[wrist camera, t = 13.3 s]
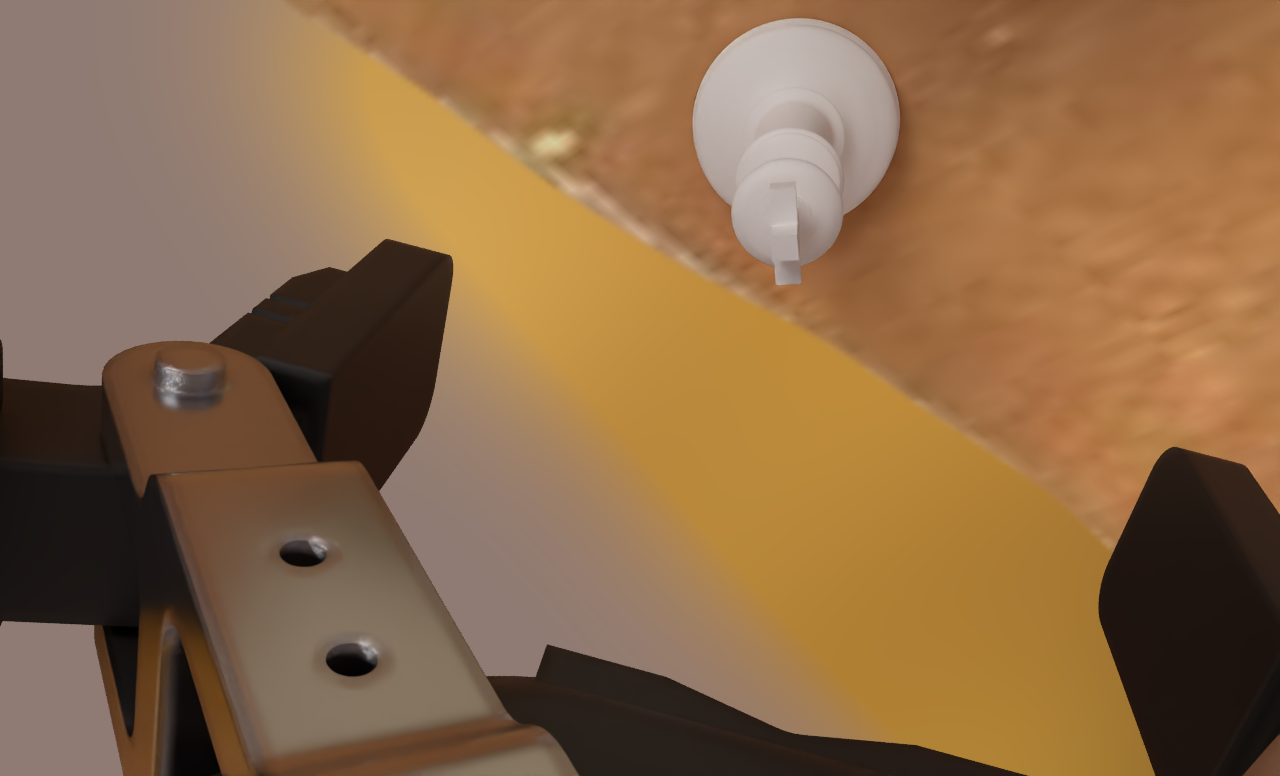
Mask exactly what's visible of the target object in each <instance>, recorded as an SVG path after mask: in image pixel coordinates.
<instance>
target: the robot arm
mask: <svg viewBox="0 0 1280 776" xmlns="http://www.w3.org/2000/svg"><path fill="white" fill-rule="evenodd" d="M452 277H453V260H452V257H451V256H450V255H447V254H443V253H439V252H436V251H431V250H428V249H424V248H420V247H417V246H413V245H408V244H405V243H401V242H397V241H393V240H390V239H385V240H384V241H382V242H381V243H380V244H379V245H378V246H377V247H375V248H374V249H373V250H372V251H371V252H370V253H369V254H367V255H366V256H365V257H364V258H363V259H362V260H361V261H359V262H358V263H357V264H356V265H355V266H354V267H352V269H350V270H349V271H348V272H346V271H342V270H338V269H335V268H330V267H328V268H325V269H321V270H317V271H314V272H311V273H307V274H303V275H299V276H296V277H292V278H291V279H290V280H289V281H287V282H286V283H285V284H284V285H282V286H281V287H280V288H278V289H277V290H276V291H275V292H273V293H272V294H271V295H270V299H267V298H266V299H265V300H263V301H262V302H261V303H260V304H259V305H257V306H256V307H254V308H253V310H252V313H247V314H246V315H244V316H243V317H242V318H241V319H239V320H238V321H237V322H236V323H234V324H233V325H232V326H230V327H229V328H228V329H227V330H225V331H224V332H223V333H222V334H220V335H219V336H218V337H217V338H215V339H214V340H213V341H212V342H210V343H203V342H192V341H167V342H157V343H150V344H145V345H140V346H136V347H133V348H130V349H127V350H124V351H123V352H121V353H119V354H117V355H115V356H114V357H113V358H111V359H110V360H109V361H108V362H107V363H106V365H105V366H104V369H103V372H102V386H85V385H71V384H60V383H49V382H39V381H29V380H18V379H8V378H3V347H2V342H1V340H0V625H1V623H2V621H15V622H37V623H60V624H82V625H94V638H95V646H96V650H97V655H98V659H99V664H100V669H101V673H102V678H103V683H104V687H105V692H106V696H107V701H108V706H109V710H110V715H111V719H112V724H113V729H114V733H115V738H116V742H117V747H118V752H119V757H120V761H121V766H122V770H123V775H124V776H1027V775H1023V774H1019V773H1015V772H1012V771H1008V770H1004V769H1001V768H997V767H993V766H990V765H986V764H983V763H979V762H975V761H972V760H968V759H964V758H961V757H957V756H954V755H950V754H946V753H943V752H939V751H935V750H931V749H928V748H924V747H921V746H917V745H907V744H897V743H886V742H875V741H864V740H853V739H841V738H830V737H819V736H808V735H799V734H794V733H790V732H786V731H783V730H781V729H778V728H776V727H774V726H772V725H769V724H767V723H765V722H763V721H761V720H758V719H756V718H754V717H751V716H750V715H748V714H745V713H743V712H741V711H739V710H736V709H735V708H733V707H730V706H728V705H726V704H724V703H722V702H719V701H717V700H715V699H713V698H711V697H708V696H706V695H704V694H702V693H700V692H698V691H695V690H693V689H691V688H689V687H687V686H685V685H682V684H680V683H678V682H676V681H674V680H672V679H670V678H667V677H664V676H661V675H657V674H653V673H650V672H645V671H642V670H639V669H635V668H631V667H627V666H624V665H620V664H617V663H613V662H610V661H605V660H602V659H598V658H595V657H591V656H587V655H583V654H580V653H577V652H573V651H569V650H566V649H562V648H558V647H554V646H551V645H547V646H546V649H545V652H544V655H543V658H542V661H541V663H540V666H539V669H538V672H537V675H536V677H521V676H520V677H519V676H486V675H485V674H484V672H483V670H482V669H481V667H480V665H479V663H478V662H477V660H476V658H475V656H474V655H473V653H472V651H471V650H470V648H469V646H468V644H467V643H466V641H465V639H464V637H463V636H462V634H461V632H460V630H459V629H458V627H457V626H456V624H455V622H454V620H453V619H452V617H451V615H450V613H449V611H448V610H447V608H446V606H445V605H444V603H443V601H442V599H441V598H440V596H439V594H438V593H437V591H436V589H435V587H434V586H433V584H432V582H431V580H430V579H429V577H428V575H427V574H426V572H425V570H424V568H423V567H422V565H421V563H420V561H419V560H418V558H417V556H416V555H415V553H414V551H413V550H412V548H411V546H410V544H409V542H408V541H407V539H406V537H405V536H404V534H403V532H402V530H401V529H400V527H399V525H398V523H397V522H396V520H395V518H394V517H393V515H392V513H391V512H390V510H389V508H388V506H387V505H386V503H385V501H384V499H383V498H382V496H381V494H380V492H379V490H380V489H381V488H382V486H383V485H384V484H385V482H386V481H387V479H388V478H389V476H390V475H391V474H392V472H393V471H394V469H395V468H396V466H397V465H398V464H399V462H400V461H401V459H402V458H403V456H404V455H405V453H406V452H407V451H408V449H409V448H410V446H411V445H412V444H413V442H414V441H415V439H416V438H417V436H418V435H419V432H420V431H421V428H422V426H423V424H424V421H425V419H426V416H427V413H428V411H429V407H430V404H431V400H432V396H433V392H434V388H435V382H436V376H437V370H438V363H439V358H440V352H441V346H442V340H443V333H444V328H445V321H446V315H447V309H448V302H449V297H450V291H451V284H452ZM1099 618H1100V622H1101V625H1102V628H1103V631H1104V634H1105V637H1106V639H1107V642H1108V645H1109V648H1110V650H1111V653H1112V656H1113V659H1114V661H1115V664H1116V667H1117V670H1118V672H1119V675H1120V678H1121V681H1122V684H1123V686H1124V689H1125V692H1126V695H1127V698H1128V700H1129V703H1130V706H1131V709H1132V712H1133V714H1134V717H1135V720H1136V722H1137V726H1138V728H1139V731H1140V734H1141V737H1142V739H1143V742H1144V745H1145V748H1146V750H1147V753H1148V756H1149V759H1150V762H1151V764H1152V767H1153V770H1154V773H1155V776H1280V514H1279V513H1278V511H1277V510H1276V509H1275V507H1274V506H1273V504H1272V503H1271V501H1270V500H1269V498H1268V497H1267V495H1266V494H1265V493H1264V491H1263V490H1262V488H1261V487H1260V485H1259V484H1258V482H1257V481H1256V480H1255V478H1254V477H1253V475H1252V474H1251V472H1250V471H1249V469H1248V468H1247V467H1246V466H1244V465H1242V464H1239V463H1235V462H1232V461H1228V460H1224V459H1220V458H1216V457H1213V456H1209V455H1205V454H1201V453H1197V452H1193V451H1190V450H1186V449H1182V448H1178V447H1172V448H1169V449H1168V450H1166V451H1165V452H1164V453H1163V454H1162V455H1161V456H1160V457H1159V459H1158V460H1157V462H1156V463H1155V465H1154V467H1153V469H1152V471H1151V473H1150V475H1149V477H1148V479H1147V481H1146V484H1145V486H1144V488H1143V490H1142V492H1141V494H1140V496H1139V498H1138V501H1137V503H1136V505H1135V507H1134V509H1133V511H1132V513H1131V516H1130V518H1129V520H1128V522H1127V524H1126V526H1125V528H1124V531H1123V533H1122V535H1121V537H1120V539H1119V541H1118V543H1117V545H1116V548H1115V550H1114V552H1113V554H1112V556H1111V558H1110V560H1109V563H1108V565H1107V567H1106V570H1105V573H1104V576H1103V579H1102V583H1101V588H1100V594H1099Z"/></svg>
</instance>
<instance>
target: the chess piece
mask: <svg viewBox="0 0 1280 776" xmlns="http://www.w3.org/2000/svg"><path fill="white" fill-rule="evenodd" d="M899 129H900V109H899V101H898V96H897V92H896V89H895V86H894V83H893V81H892V78H891V76H890V74H889V72H888V70H887V68H886V67H885V65H884V63H883V62H882V60H881V59H880V58H879V56H878V55H877V54H876V53H875V52H874V51H873V50H872V48H871V47H869V46H868V45H867V44H866V43H865V42H864V41H863V40H861V39H860V38H859V37H857V36H856V35H854V34H853V33H851V32H849V31H848V30H846V29H844V28H842V27H839V26H837V25H834V24H832V23H828V22H825V21H821V20H815V19H807V18H791V19H782V20H777V21H773V22H769V23H766V24H763V25H760V26H758V27H756V28H753V29H751V30H749V31H748V32H746V33H744V34H743V35H741V36H739V37H738V38H737V39H735V40H734V41H733V42H731V43H730V44H729V45H728V46H727V47H726V48H725V49H724V50H723V51H722V52H721V53H720V54H719V55H718V56H717V57H716V59H715V60H714V61H713V63H712V64H711V66H710V67H709V69H708V70H707V72H706V74H705V76H704V78H703V80H702V82H701V84H700V87H699V90H698V92H697V96H696V100H695V104H694V110H693V138H694V144H695V149H696V153H697V156H698V160H699V163H700V165H701V168H702V170H703V172H704V174H705V176H706V178H707V180H708V181H709V183H710V184H711V186H712V187H713V189H714V190H715V191H716V192H717V193H718V195H719V196H720V197H721V198H722V199H723V200H724V201H725V202H726V203H727V204H729V205H730V206H731V207H732V209H731V218H732V225H733V229H734V232H735V234H736V237H737V239H738V240H739V242H740V243H741V245H742V246H743V247H744V249H745V250H746V251H747V252H748V253H749V254H750V255H752V256H753V257H754V258H756V259H758V260H759V261H761V262H763V263H766V264H768V265H772V266H775V280H776V285H788V284H801V277H802V275H801V266H802V265H805V264H808V263H810V262H812V261H814V260H816V259H818V258H819V257H821V256H822V255H823V254H824V253H825V252H827V251H828V250H829V248H830V247H831V246H832V245H833V243H834V242H835V240H836V239H837V237H838V235H839V232H840V230H841V227H842V222H843V215H845V214H846V213H848V212H850V211H851V210H853V209H854V208H855V207H857V206H858V205H859V204H860V203H862V202H863V201H864V200H865V199H866V198H867V197H868V196H869V195H870V194H871V193H872V192H873V191H874V189H875V188H876V187H877V185H878V184H879V183H880V181H881V180H882V178H883V176H884V175H885V173H886V171H887V169H888V167H889V165H890V162H891V160H892V158H893V155H894V152H895V149H896V146H897V142H898V137H899Z"/></svg>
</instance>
